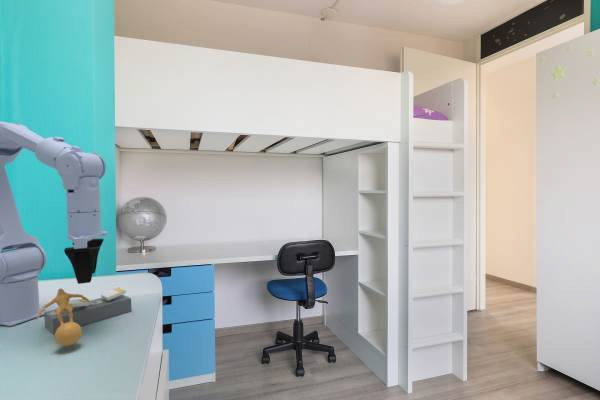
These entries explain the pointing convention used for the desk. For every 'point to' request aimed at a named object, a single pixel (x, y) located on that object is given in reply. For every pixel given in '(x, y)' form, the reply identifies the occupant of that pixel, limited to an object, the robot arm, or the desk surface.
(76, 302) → the near rocker
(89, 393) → the desk surface
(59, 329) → the figurine
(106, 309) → the power strip
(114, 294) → the far rocker
